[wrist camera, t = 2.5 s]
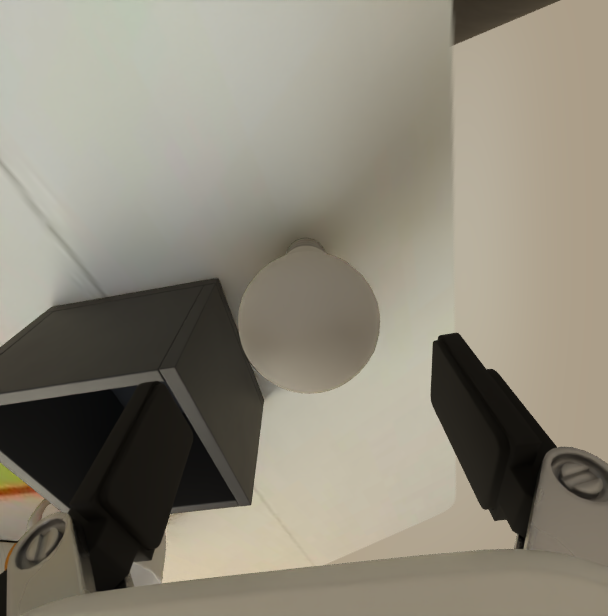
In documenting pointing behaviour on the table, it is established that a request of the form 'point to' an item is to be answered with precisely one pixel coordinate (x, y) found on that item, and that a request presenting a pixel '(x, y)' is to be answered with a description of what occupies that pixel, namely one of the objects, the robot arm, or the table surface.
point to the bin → (131, 390)
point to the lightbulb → (308, 320)
